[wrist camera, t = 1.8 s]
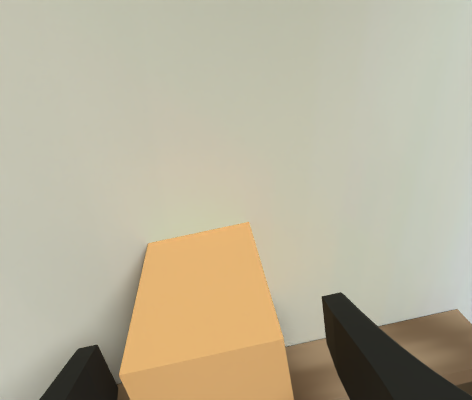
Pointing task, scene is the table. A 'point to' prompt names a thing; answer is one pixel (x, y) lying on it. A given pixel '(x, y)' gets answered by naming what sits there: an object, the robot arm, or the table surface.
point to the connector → (205, 323)
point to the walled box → (404, 333)
